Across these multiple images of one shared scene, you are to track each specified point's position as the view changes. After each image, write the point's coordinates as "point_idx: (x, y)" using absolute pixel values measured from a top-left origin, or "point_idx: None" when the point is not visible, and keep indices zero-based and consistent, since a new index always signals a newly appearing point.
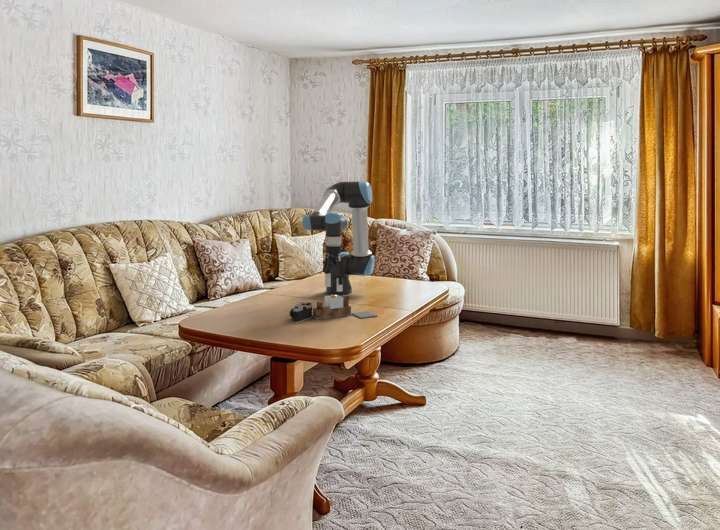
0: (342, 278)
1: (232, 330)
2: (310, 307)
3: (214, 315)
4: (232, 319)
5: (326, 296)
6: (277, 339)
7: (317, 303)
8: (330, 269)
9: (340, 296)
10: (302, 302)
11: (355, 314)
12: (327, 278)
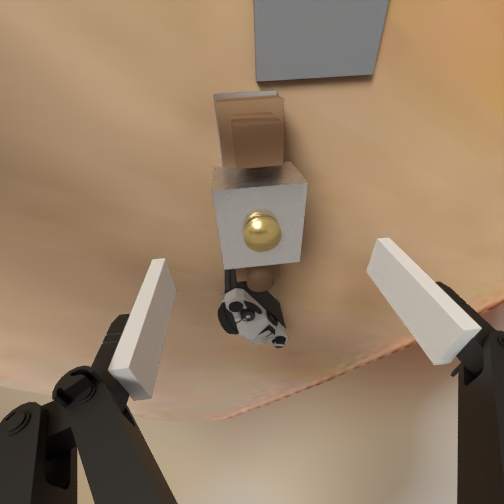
0: (473, 320)
1: (275, 385)
2: (250, 295)
3: (146, 403)
4: (191, 386)
5: (238, 263)
6: (380, 345)
7: (264, 288)
8: (134, 442)
9: (276, 192)
10: (262, 337)
11: (299, 72)
12: (157, 338)
